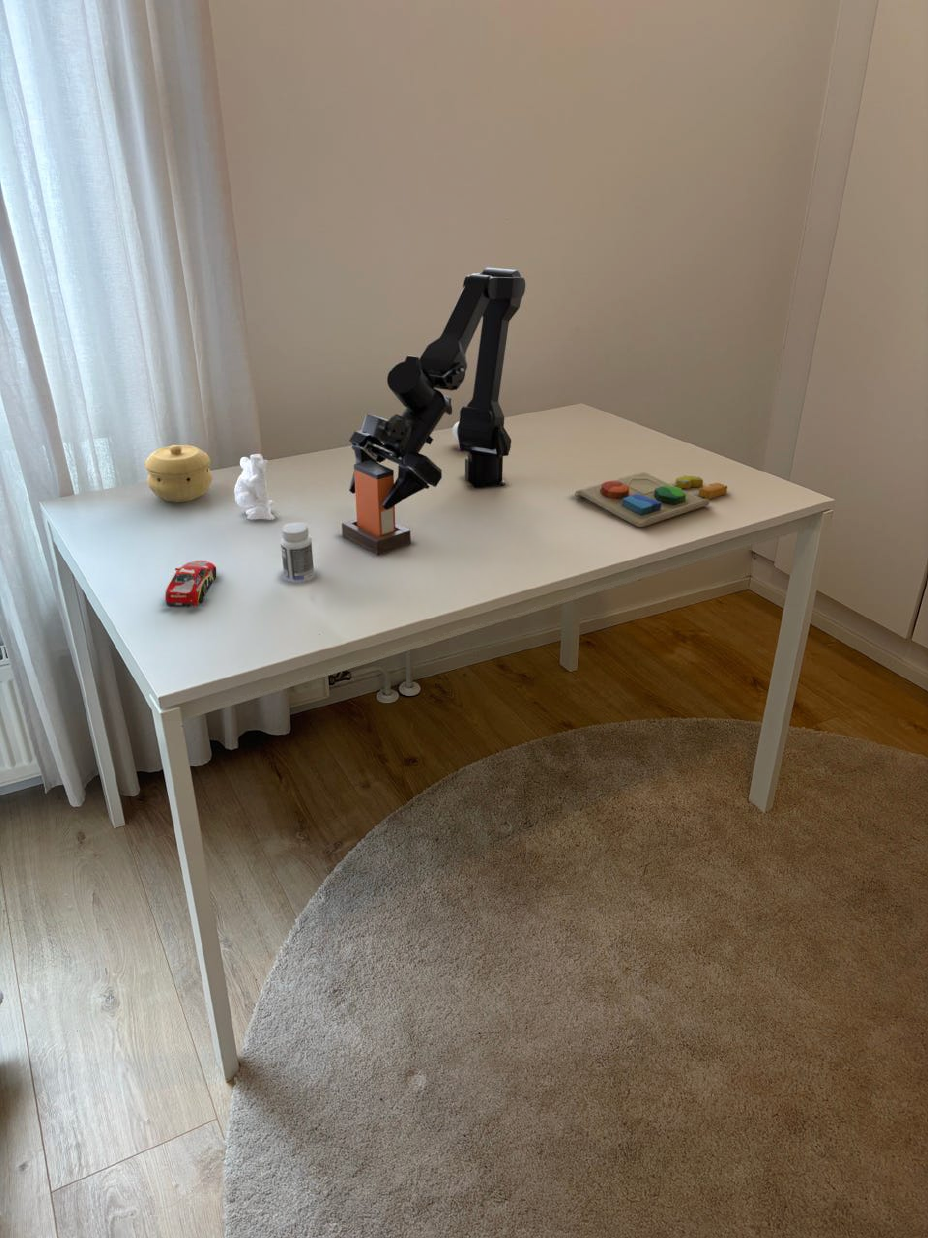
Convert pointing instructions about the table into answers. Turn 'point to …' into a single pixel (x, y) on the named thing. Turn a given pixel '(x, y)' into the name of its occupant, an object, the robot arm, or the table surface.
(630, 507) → the shape puzzle
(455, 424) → the stress ball
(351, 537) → the slot
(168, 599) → the race car
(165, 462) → the pot
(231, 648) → the table surface
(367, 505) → the box
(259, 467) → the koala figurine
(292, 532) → the pill bottle
